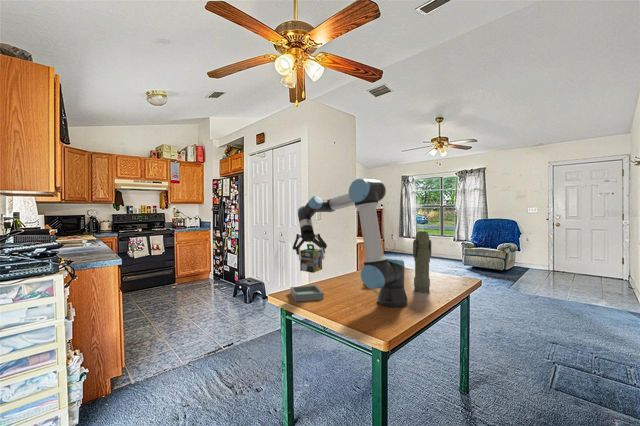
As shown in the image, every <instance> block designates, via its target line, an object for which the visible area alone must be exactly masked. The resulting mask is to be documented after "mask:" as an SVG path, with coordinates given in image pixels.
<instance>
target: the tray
mask: <svg viewBox="0 0 640 426" xmlns="http://www.w3.org/2000/svg"><path fill="white" fill-rule="evenodd" d="M290 295H291V296H292V299H293V300H294V302H296V303H297V302H308V301H321V300H324V298H325V297H324V295H325V294H324V291H322V290H321V288H320V287H319V286H318V285H316V284H315V285H302V286H290Z"/></svg>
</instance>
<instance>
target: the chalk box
mask: <svg viewBox="0 0 640 426" xmlns="http://www.w3.org/2000/svg"><path fill="white" fill-rule="evenodd" d="M306 247H307V248H304V249H302V250H301V249H300V252H301V260H300V262H299V265H300V269H299V270H300V272H305V273H312V274H314V273H316V272H319V271H321V270H323V260H322V250H321V248H319V249H318V248H315V245H314V243H313V244H311V243H307V244H306Z"/></svg>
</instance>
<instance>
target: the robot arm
mask: <svg viewBox="0 0 640 426" xmlns="http://www.w3.org/2000/svg"><path fill="white" fill-rule="evenodd" d="M386 192H387V190H386V186H385V184H384V183H383V182H382V181H381V180H377V179H372V178H371V179H370V178H357V179H354V180H353V181H352V182H351V183H350V185H349V187H348V193H345V194H342V195H338V196H336V197H332V198H329V199H322V198H321V197H319V196H317V195H314V196H312V197H311V198H310V199H309V200H308V201H307V202H306V204H305V206H304V205H303V206H301V207H299V208H297V217H298V222H299V228H300V234H299V233H296V236H295V240H294V242H293V245H292V250H295V253H296V255H297V256H298V260H299V261H300V260H301V252H300V251H301V247H302V246H303V244H304V243H309V242H310V243H311V242H312V243H313V244H315V245H316V246H317V247H318V248H319V249H321V250H322V261H323V260H325V254H326V249H327V248H328V244H327V243H326V242H325V240H324V239H323V237H321V234H320V233H317V234H315V232H314V226H313V222H312V217H314V215H315V214H316V213H334V212H335V211H337V210H341V209H345V208H349V207H352V206H355V209H357V210H358V215H359V221H360V227H361V234H362V241H363V248H364V253H365V254H364V255H365V258H364V260H363V261H362V262H363V267H362V268H361V270H360V278H361V281H362V282H363V284H364V286H366V287H367V288H368V289H370V290H378V289H380V290H379V293H378V295H377V302H378V304H380V305H383V306H386V307H390V308H391V307H392V308H402V307H405V306H408V300H409V299H408V296H407V293H406V290H405V267H406V266H405V261H404V260H403V259H402V258H401V259H400V258H394V257H386V256H385V255H384V251H383V246H382V245H383V244H382V238H381V231H380V225H379V219H378V213H377V206H378V205H379V202H380V201H382V200H383V199H384V198H385V196H386V194H387V193H386ZM300 238H301V240H300ZM299 240H300V242H298V241H299ZM297 243H298V244H297Z"/></svg>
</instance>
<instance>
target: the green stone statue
mask: <svg viewBox="0 0 640 426" xmlns="http://www.w3.org/2000/svg"><path fill="white" fill-rule="evenodd" d="M431 256H432V240H431V239H430V236H429V233H428V232H427V231H424V230H423V231H422V230H419V231H417V232H416V233H415V239H413V241H412V257H413V260H414V277H413V287H414V291H415V292H417V293H418V292H419V293H429V292H430V287H431V280H430V262H431Z"/></svg>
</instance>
